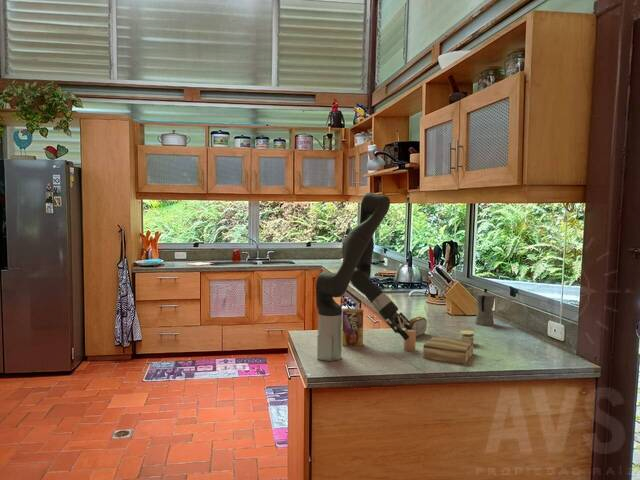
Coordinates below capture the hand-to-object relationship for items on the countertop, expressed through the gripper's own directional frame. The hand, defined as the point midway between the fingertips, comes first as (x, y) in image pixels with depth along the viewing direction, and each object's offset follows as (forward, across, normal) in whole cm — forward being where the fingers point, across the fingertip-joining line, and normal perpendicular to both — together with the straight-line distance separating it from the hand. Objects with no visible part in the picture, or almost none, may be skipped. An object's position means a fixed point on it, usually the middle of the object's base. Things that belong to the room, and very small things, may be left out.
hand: (410, 336), depth 211 cm
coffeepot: (+18, +64, -9) cm, 67 cm away
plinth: (+15, 0, -7) cm, 17 cm away
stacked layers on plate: (+18, +21, -9) cm, 29 cm away
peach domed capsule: (+4, 0, +4) cm, 6 cm away
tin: (+1, +24, +7) cm, 25 cm away
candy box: (-13, -4, +21) cm, 25 cm away
